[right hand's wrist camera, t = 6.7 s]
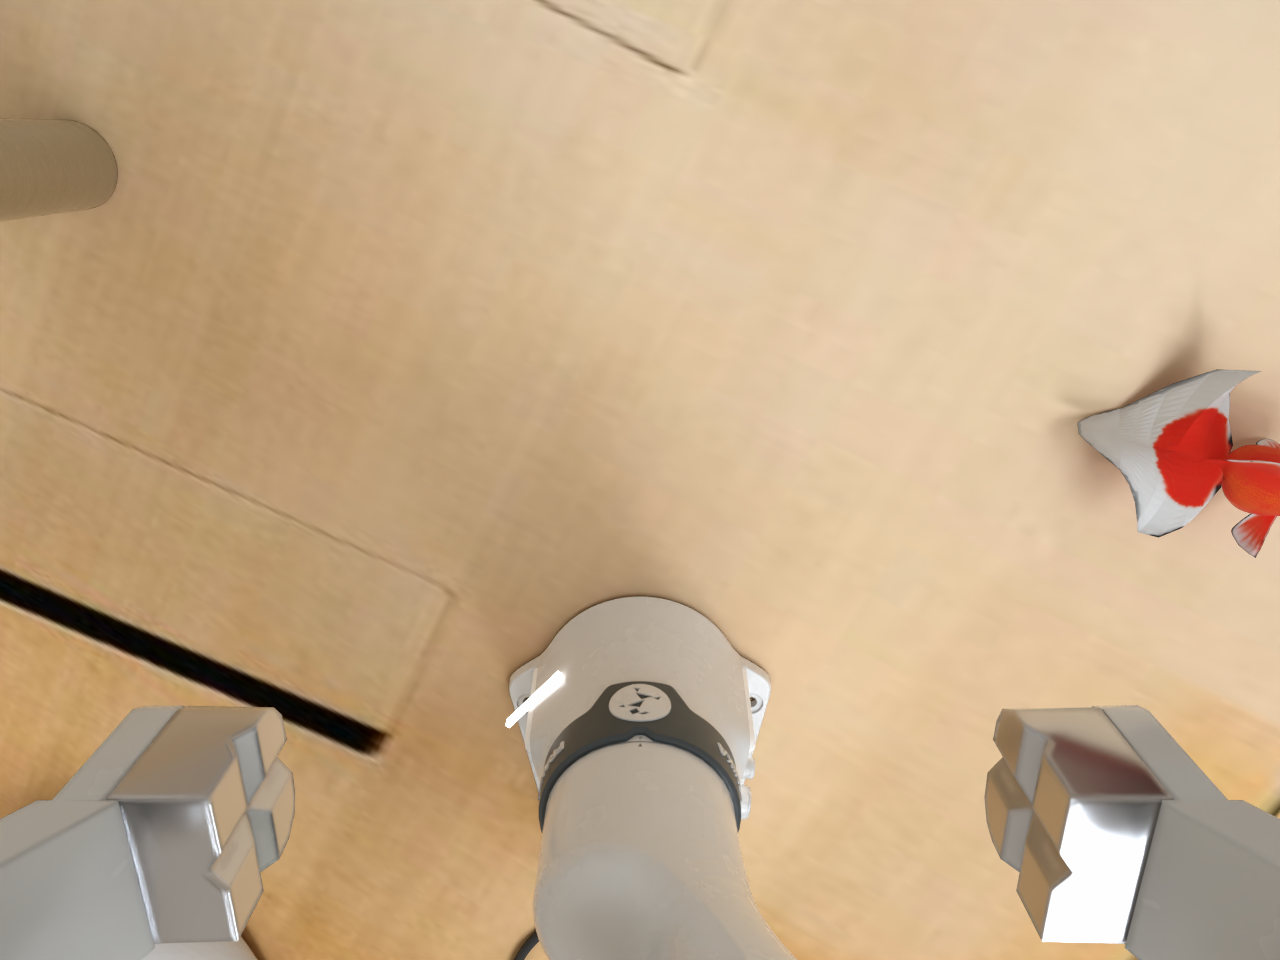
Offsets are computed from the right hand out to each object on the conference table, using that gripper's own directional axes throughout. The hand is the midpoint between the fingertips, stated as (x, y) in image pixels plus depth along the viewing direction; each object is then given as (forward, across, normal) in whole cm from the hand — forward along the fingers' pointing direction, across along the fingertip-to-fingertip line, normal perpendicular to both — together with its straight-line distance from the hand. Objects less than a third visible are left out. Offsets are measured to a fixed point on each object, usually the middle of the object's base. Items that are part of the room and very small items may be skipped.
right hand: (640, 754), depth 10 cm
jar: (+48, -33, +5) cm, 59 cm away
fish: (+48, +35, -13) cm, 61 cm away
